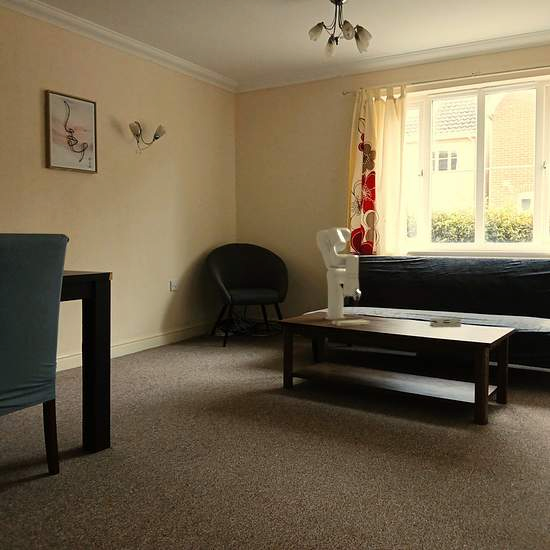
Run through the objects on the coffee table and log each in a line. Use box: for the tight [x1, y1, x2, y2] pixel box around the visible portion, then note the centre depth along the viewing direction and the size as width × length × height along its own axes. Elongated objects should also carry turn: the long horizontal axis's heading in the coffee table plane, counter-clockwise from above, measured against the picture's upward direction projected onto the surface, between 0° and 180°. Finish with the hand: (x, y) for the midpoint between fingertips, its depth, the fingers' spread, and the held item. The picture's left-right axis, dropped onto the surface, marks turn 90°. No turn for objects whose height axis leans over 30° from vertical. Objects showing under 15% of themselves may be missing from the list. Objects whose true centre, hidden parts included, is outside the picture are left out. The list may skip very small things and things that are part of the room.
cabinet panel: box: [331, 316, 372, 327], centre depth 326 cm, size 10×20×4 cm, turn 118°
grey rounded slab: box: [429, 317, 462, 328], centre depth 321 cm, size 17×5×10 cm
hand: (351, 305), depth 326 cm, fingers open, 9 cm apart
